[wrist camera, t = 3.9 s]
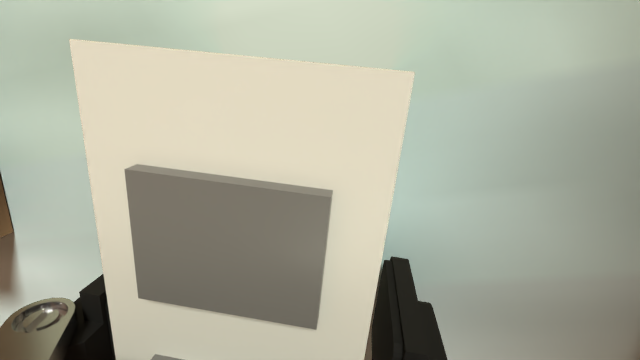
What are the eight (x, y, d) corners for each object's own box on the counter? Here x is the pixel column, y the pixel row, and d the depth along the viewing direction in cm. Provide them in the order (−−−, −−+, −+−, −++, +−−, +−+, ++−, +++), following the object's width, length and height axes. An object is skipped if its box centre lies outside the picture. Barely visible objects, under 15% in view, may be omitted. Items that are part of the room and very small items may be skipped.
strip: (229, 57, 10) (42, 35, 4) (387, 72, 10) (419, 71, 4) (229, 381, 15) (137, 589, 9) (337, 402, 14) (316, 638, 8)
